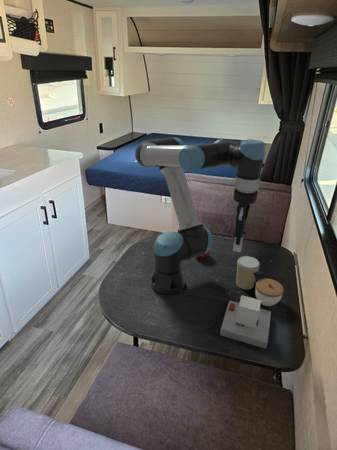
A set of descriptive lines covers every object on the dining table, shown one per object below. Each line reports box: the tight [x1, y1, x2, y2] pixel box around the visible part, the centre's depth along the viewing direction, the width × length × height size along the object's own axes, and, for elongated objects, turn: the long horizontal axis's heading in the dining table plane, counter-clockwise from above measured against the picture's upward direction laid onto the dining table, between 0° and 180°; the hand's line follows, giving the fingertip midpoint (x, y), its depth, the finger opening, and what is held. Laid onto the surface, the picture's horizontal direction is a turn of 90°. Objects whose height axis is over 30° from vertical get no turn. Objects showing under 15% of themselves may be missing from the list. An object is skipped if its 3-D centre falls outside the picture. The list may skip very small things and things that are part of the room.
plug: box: [236, 295, 262, 328], centre depth 108 cm, size 7×6×11 cm
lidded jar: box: [254, 277, 285, 307], centre depth 121 cm, size 11×11×9 cm
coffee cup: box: [235, 255, 261, 290], centre depth 130 cm, size 9×9×12 cm
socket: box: [219, 300, 272, 350], centre depth 110 cm, size 16×16×4 cm
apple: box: [197, 250, 211, 259], centre depth 150 cm, size 8×8×10 cm
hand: (236, 250), depth 108 cm, fingers closed
